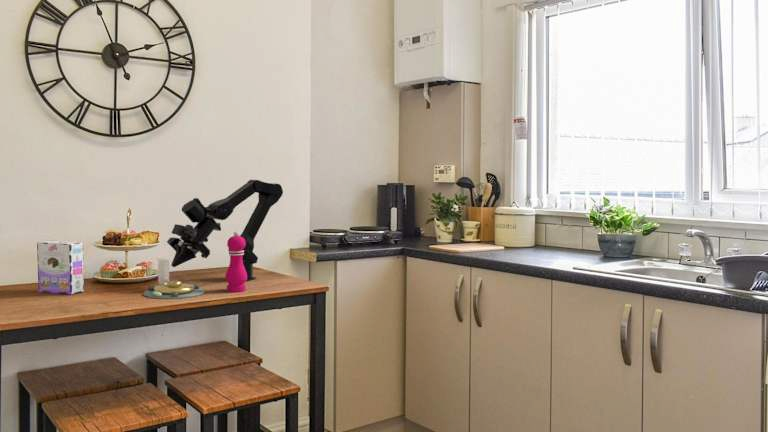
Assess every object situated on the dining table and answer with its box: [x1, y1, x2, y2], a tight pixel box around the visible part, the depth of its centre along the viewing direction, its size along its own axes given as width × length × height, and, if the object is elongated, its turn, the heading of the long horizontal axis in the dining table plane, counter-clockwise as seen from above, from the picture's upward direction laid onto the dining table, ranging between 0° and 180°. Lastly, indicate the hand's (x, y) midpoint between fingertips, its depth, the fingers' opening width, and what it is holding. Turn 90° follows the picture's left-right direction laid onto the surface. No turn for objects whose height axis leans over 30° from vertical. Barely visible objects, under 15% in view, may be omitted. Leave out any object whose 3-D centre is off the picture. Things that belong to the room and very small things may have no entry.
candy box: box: [36, 240, 85, 295], centre depth 216 cm, size 14×6×16 cm, turn 71°
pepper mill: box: [224, 230, 247, 293], centre depth 224 cm, size 7×7×20 cm
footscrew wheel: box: [154, 258, 195, 294], centre depth 218 cm, size 15×13×9 cm
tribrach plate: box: [143, 284, 205, 300], centre depth 218 cm, size 19×19×2 cm
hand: (172, 266), depth 224 cm, fingers closed
